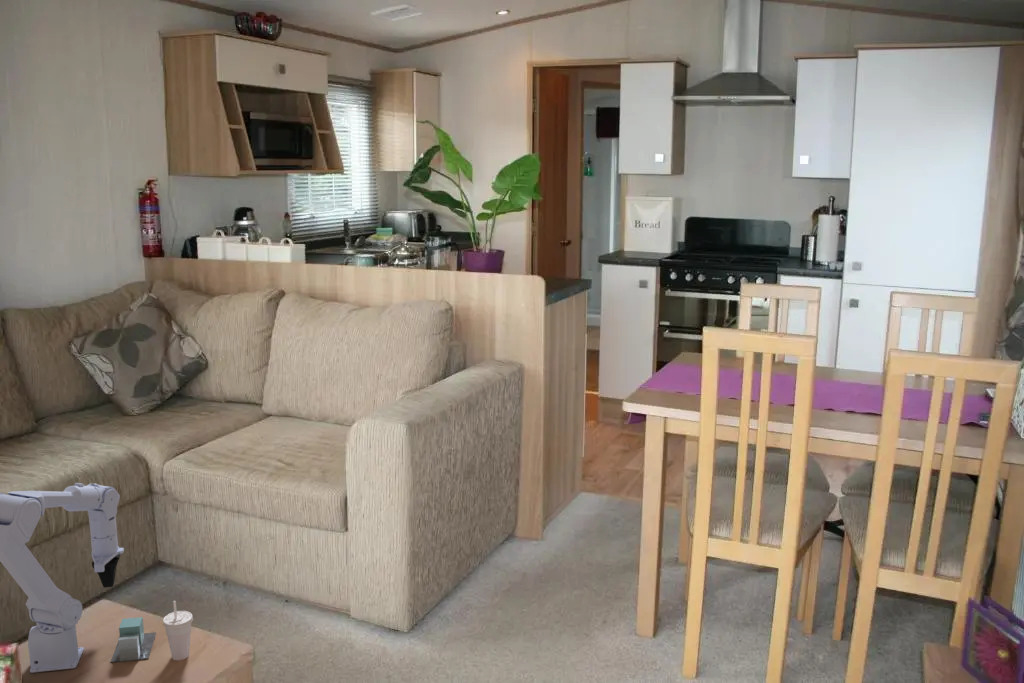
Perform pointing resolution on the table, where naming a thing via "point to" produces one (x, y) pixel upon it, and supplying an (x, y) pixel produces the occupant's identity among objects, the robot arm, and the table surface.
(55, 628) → the robot arm
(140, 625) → the teal block on rod
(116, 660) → the grey metal stand
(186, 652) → the smoothie
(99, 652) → the table surface
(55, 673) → the table surface
